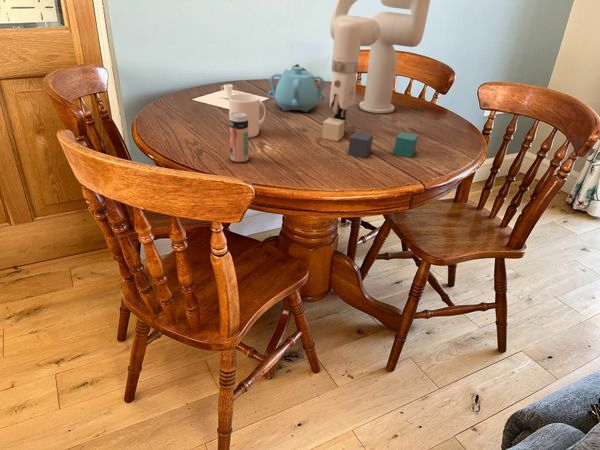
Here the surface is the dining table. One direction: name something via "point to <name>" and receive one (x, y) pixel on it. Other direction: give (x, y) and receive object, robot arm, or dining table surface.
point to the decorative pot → (296, 90)
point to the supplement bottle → (238, 137)
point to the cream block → (333, 129)
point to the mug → (248, 110)
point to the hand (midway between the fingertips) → (338, 128)
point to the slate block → (360, 144)
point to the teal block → (405, 144)
